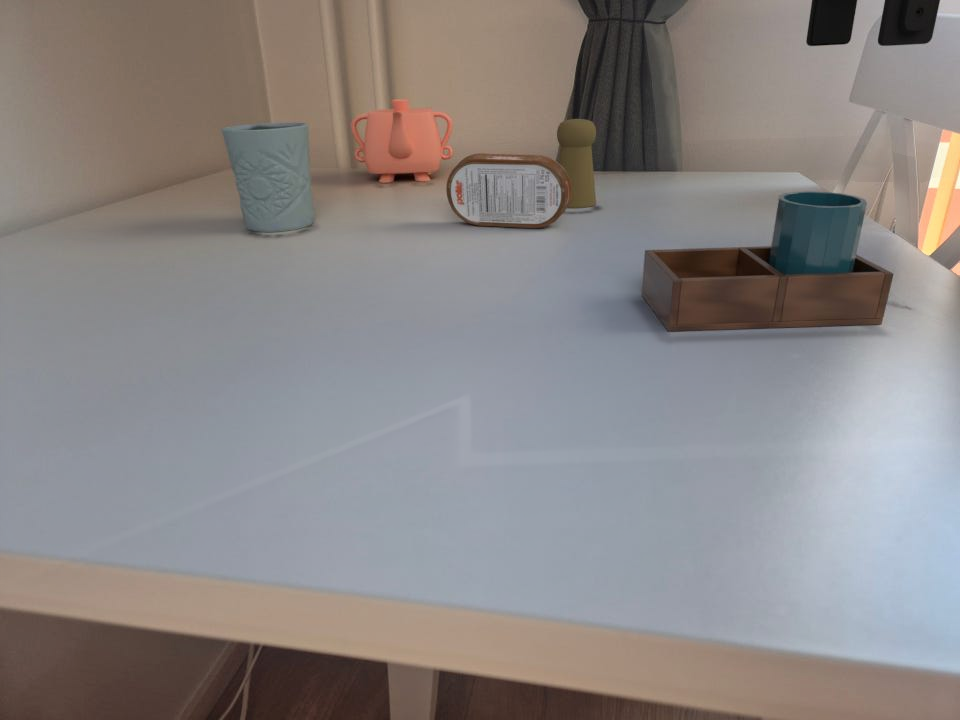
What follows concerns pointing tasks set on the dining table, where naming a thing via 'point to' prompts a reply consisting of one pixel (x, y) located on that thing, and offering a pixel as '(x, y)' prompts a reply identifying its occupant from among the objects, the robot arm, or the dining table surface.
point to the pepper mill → (578, 160)
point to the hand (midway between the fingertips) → (862, 44)
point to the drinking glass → (272, 174)
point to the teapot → (402, 141)
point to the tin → (509, 190)
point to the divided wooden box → (757, 291)
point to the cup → (816, 232)
